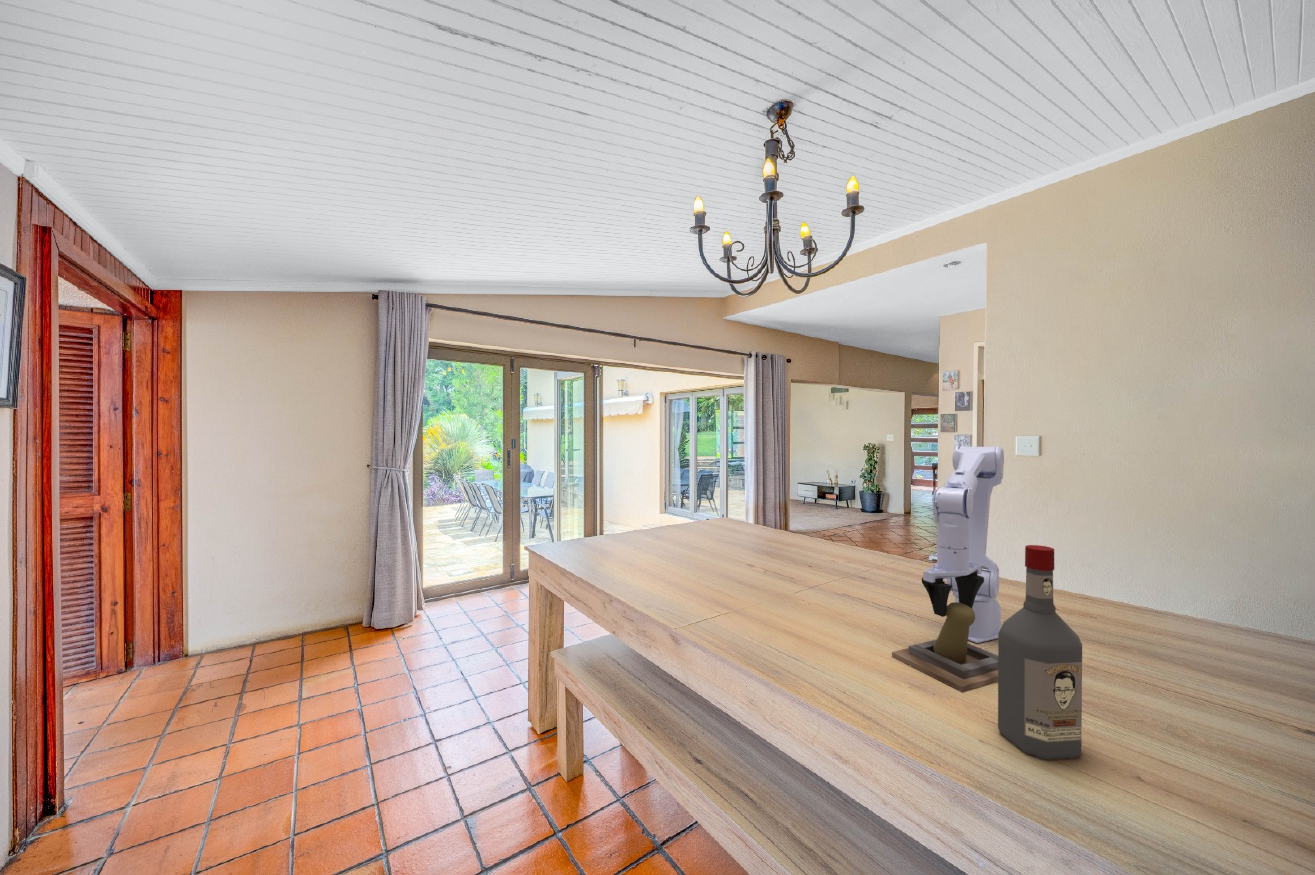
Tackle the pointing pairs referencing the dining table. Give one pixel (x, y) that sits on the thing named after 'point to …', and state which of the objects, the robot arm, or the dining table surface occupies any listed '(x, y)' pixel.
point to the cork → (955, 633)
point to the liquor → (1040, 670)
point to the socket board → (945, 674)
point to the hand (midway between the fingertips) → (952, 612)
